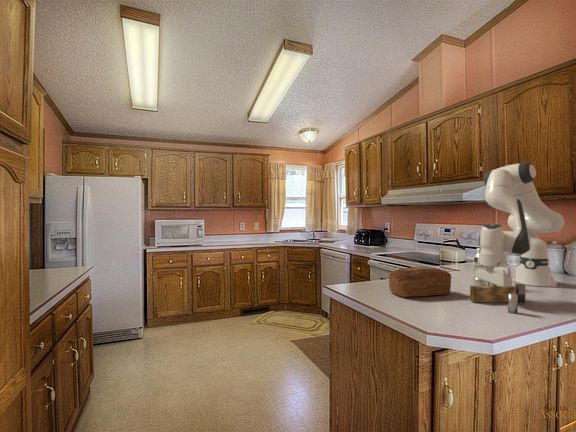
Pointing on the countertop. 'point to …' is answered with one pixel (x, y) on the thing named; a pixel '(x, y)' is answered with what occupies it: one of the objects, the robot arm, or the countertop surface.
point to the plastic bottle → (475, 280)
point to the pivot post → (520, 292)
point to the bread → (419, 282)
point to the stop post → (512, 303)
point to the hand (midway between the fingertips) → (491, 292)
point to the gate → (490, 293)
